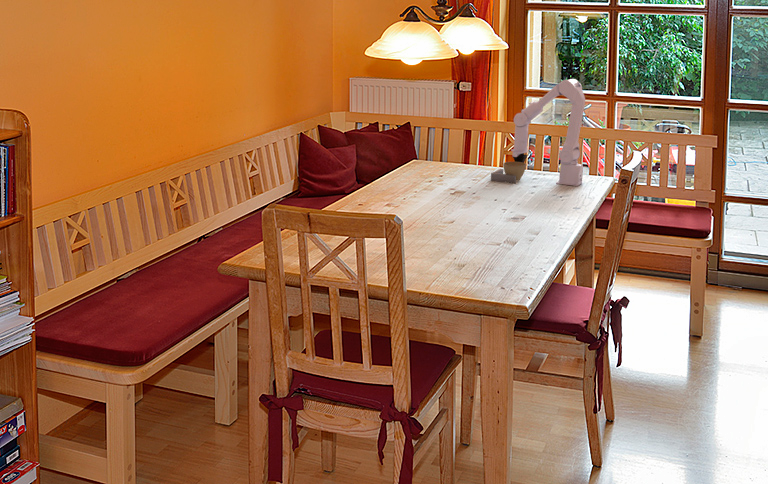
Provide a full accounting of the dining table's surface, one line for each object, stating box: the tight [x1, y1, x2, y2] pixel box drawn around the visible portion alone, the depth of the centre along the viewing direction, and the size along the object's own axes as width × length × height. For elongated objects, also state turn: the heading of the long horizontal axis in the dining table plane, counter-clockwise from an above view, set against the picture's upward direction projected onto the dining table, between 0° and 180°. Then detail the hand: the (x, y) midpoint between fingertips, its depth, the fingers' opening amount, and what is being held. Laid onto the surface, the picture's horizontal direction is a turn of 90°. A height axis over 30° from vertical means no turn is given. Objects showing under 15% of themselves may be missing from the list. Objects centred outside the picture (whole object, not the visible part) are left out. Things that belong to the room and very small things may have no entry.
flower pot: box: [502, 161, 527, 182], centre depth 362 cm, size 10×10×7 cm
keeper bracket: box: [490, 168, 517, 184], centre depth 362 cm, size 11×12×4 cm
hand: (519, 170), depth 368 cm, fingers closed
